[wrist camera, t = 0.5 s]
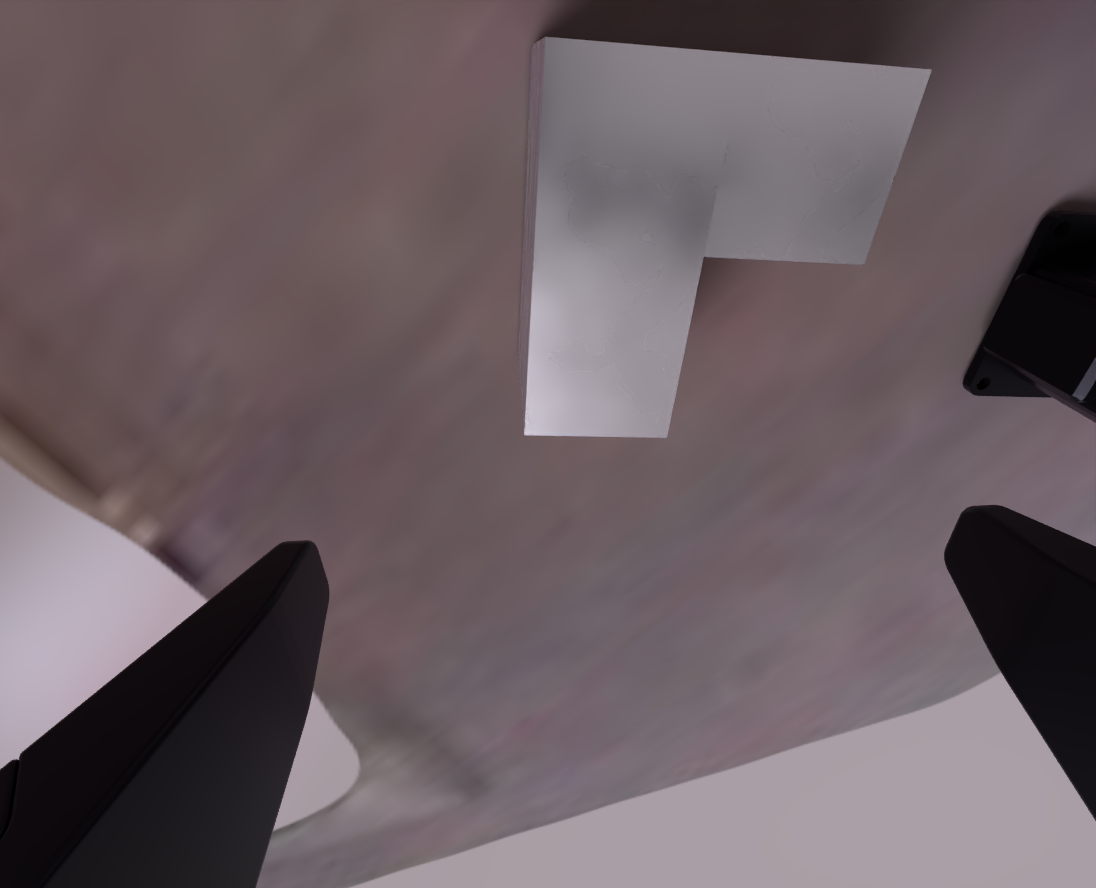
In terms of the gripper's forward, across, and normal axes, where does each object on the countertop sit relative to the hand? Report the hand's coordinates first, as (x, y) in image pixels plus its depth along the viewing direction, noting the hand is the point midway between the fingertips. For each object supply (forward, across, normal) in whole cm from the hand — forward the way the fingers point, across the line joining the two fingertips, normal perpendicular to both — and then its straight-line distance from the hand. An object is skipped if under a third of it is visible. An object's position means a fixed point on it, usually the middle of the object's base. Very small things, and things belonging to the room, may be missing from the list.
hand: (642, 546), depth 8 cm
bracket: (+13, -3, -1) cm, 13 cm away
